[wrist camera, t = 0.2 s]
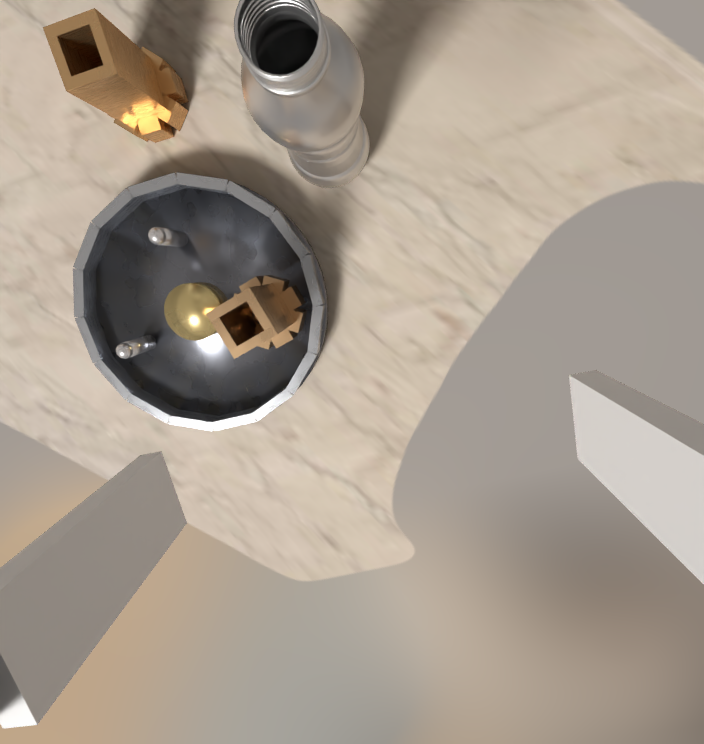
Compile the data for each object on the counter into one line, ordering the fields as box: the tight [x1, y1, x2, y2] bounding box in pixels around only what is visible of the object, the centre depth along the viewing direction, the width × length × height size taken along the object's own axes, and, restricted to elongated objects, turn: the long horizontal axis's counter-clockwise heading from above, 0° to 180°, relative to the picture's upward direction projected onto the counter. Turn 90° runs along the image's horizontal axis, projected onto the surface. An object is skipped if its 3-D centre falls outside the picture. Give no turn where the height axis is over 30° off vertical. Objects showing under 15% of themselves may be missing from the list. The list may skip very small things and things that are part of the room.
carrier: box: [73, 172, 328, 431], centre depth 38 cm, size 23×23×6 cm
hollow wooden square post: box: [43, 8, 188, 143], centre depth 32 cm, size 6×6×9 cm
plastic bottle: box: [234, 0, 370, 188], centre depth 27 cm, size 6×7×20 cm
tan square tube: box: [206, 275, 307, 359], centre depth 35 cm, size 6×6×9 cm
